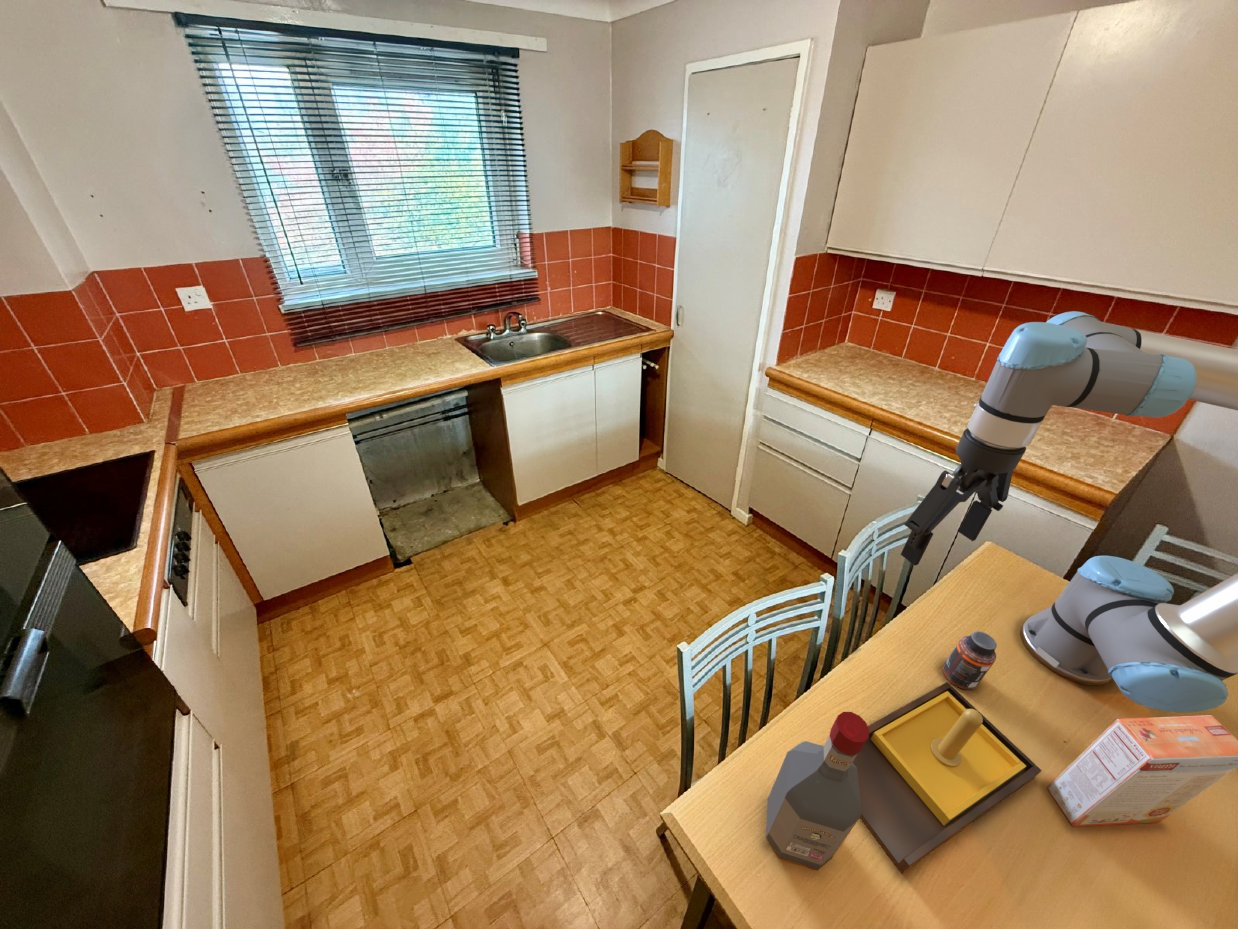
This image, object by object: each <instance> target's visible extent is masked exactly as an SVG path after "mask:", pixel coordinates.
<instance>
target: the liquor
mask: <svg viewBox="0 0 1238 929" xmlns="http://www.w3.org/2000/svg"><path fill="white" fill-rule="evenodd" d="M868 726H869V725H868V723H867V722H866V721H865V719H863V718H862V716H860V715H859V714H857V713H855V712H853V711H842V712H841V713H839V714H837V716H836V718H835V720H834V722H833V724H832V726H831V728H830V731H829V735H828V737H827V739H826V741H825V743H824V745H821V744H818V743H814V742H810V741H806V740H804V741H802V742H800V743H798V744H797V745H796V746H794V747H793V748H791V749H790V750H788V751H787V752H786V755H785V756H784V759H783V762H782V763H781V766H780V769H779V771H778V773H777V776H776V778H775V781H774V783H773V784H772V787H771V790H770V792H769V795H768V797H767V801H766V802H767V803H766V804H767V805H766V831H765V832H766V833H765V838H766V840H767V841H768V843H769V845H770V846H771V848H772V849H773V851H774V852H775V853H776V855H777V857H778V858H779V859H782V860H785V861H789V862H792V863H795V864H798V865H801V866H804V867H807V868H810V869H813V870H817V871H819V870H820V869H821V868H823V867H824V866H825V865H826V864H827V863H828V862H830V861H831V860H832V859H833V858H834V856H835V855H836V853H837V852H838V850H839V848H840V847H841V846H842V845H843V843H844V842H845V840H846V838H847V837H848V835H850V833H851V832H852V829H854V827H855V825H856V824H857V823H858V821H859V819H861V818H860V817H861V815H862V810H861V800H860V790H859V781H858V771H857V767H856V766H855V765H854V764H853V761H854V759H855V757H856V755H857V754H858V753H859V752H860V751H861V750H862V748H863V746H864V745H865V743H866V741H867V739H868V736H869V728H868Z"/></svg>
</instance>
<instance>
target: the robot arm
mask: <svg viewBox="0 0 1238 929" xmlns="http://www.w3.org/2000/svg"><path fill="white" fill-rule="evenodd" d="M1188 400H1189V401H1193V402H1197V403H1203V404H1206V405H1211V406H1216V407H1220V408H1225V409H1228V410H1229V409H1230V410H1234V411H1238V349H1235V348H1230V347H1227V346H1221V345H1216V344H1210V343H1205V342H1201V341H1197V340H1192V339H1187V338H1182V337H1177V336H1172V335H1166V334H1162V333H1157V332H1153V331H1147V330H1142V329H1137V328H1132V327H1127V326H1123V325H1118V324H1113V323H1108V322H1104V321H1101V320H1100V319H1099V318H1097V317H1096V316H1095V315H1092V314H1088V313H1086V312H1083V311H1075V310H1073V311H1066V312H1063V313H1059V314H1057V315H1054V316H1053V317H1051V318H1049V319H1048V320H1047V321H1046V322H1043V321H1030V322H1025V323H1022V324H1020V325H1018V326H1017V327H1016V328H1014V329H1013V331H1012V332H1011V334H1010V336H1009V337H1008V338H1007V340H1006V342H1005V344H1004V345H1003V348H1002V350H1001V351H1000V353H999V354H998V356H997V358H996V362H995V364H994V367H993V368H992V371H991V374H990V376H989V378H988V379H987V382H986V385H985V387H984V389H983V392H982V394H981V395H980V397H979V400H978V401H977V402H975V404H974V405H973V409H974V410H973V412H972V415H971V417H970V419H969V421H968V423H967V427H966V428H965V429H964V431H963V433H962V435H961V437H960V439H959V440H958V443H957V445H956V447H955V453H956V456H957V457H958V458H959V461H960V464H959V465H958V466H957V468H955V469H954V470H953V472H949V471H948V470H947V469H946V470H943V471H942V472H941V473H940V475H939V477H938V478H937V481H936V482H935V484H934V485H933V486H932V487H931V489H930V490H929V491H928V492H927V494H926V495H925V497H924V498H923V499H922V501H921V502H920V503H919V505H917V507H916V508H915V509H914V511H913V512H912V513H911V514H910V516H909V517H908V519H907V520H905V522H904V526H905V527H906V528H908V529H909V530H910V533H909V535H908V537H907V539H906V542H905V544H904V546H903V548H902V550H901V553H900V556H901V557H903V558H904V559H905V560H907V561H908V562H909V563H911V564H912V565H913V566H914V567H915V566H918V565H919V564H920V562H921V560H922V558H923V556H924V554H925V552H926V550H927V548H928V546H929V544H930V542H931V540H932V538H933V536H934V533H933V530H934V529H936V527H938V525H939V524H940V523H941V522H943V520H944V519H946V517H947V516H948V515H949V514H950V513H951V512H952V511H953V510H954V509H955V508H956V507H957V506H958V505H959V504H960V503H965V502H967V501H968V500H969V499H970V498H971V497H972V496H973V495H974V494H975V493H976V495H977V499H978V500H977V499H976V500H974V501H972V503H971V505H970V507H969V509H968V511H967V513H966V514H965V516H964V518H963V520H962V522H961V524H960V526H959V527H958V529H957V532H958V533H959V534H961V535H962V536H964V537H965V538H967V539H968V540H969V541H971V542H974V541H976V540H977V538H978V537H979V535H980V533H981V531H982V530H983V528H984V526H985V524H986V522H987V520H988V519H989V517H990V515H991V513H992V512H993V510H995V511H996V512H1000V511H1001V510H1002V509H1003V507H1004V505H1003V504H1002V503H1004V502H1005V501H1007V499H1008V497H1009V493H1010V487H1011V483H1012V478H1013V473H1014V470H1016V468H1017V466H1018V465H1019V464H1020V461H1021V460H1022V458H1023V456H1024V454H1025V452H1026V450H1027V447H1028V446H1029V445H1030V444H1031V443H1032V441H1033V439H1034V438H1035V436H1036V434H1037V432H1038V430H1040V427H1041V425H1042V424H1043V421H1044V419H1045V418H1046V416H1047V414H1048V413H1049V411H1050V409H1051V408H1052V407H1053V406H1058V407H1062V408H1063V407H1064V408H1072V409H1080V410H1087V411H1094V412H1101V413H1108V414H1114V415H1121V416H1125V417H1129V418H1131V417H1142V418H1143V417H1144V418H1155V419H1157V418H1158V419H1159V418H1165V417H1168V416H1170V415H1173V414H1175V413H1176V412H1177V411H1179V410H1180V409H1182V408H1183V407H1184V406H1185V405H1186V403H1187V402H1188ZM1000 502H1001V503H1000ZM1174 593H1175V589H1174V586H1173V585H1172V584H1171V583H1170V581H1169V580H1167V578H1165V577H1164V576H1162V575H1161V574H1159V573H1158V572H1157V571H1155V570H1153V569H1151V568H1149V567H1147V566H1145V565H1142V564H1140V563H1138V562H1135V561H1132V560H1129V559H1126V558H1122V557H1119V556H1112V555H1097V556H1093V557H1091V558H1089V559H1088V560H1086V561H1085V562H1084V563H1083V565H1081V567H1078V568H1077V571H1076V573H1075V574H1074V575H1073V576H1072V578H1071V579H1070V581H1069V583H1068V584H1067V585H1066V587H1065V588H1064V589H1063V591H1061V593H1060V594H1059V595H1058V597H1057V598H1056V600H1055V601H1054V602H1053V603H1052V605H1051V606H1048V607H1046V608H1044V609H1042V610H1040V611H1039V612H1036V613H1035V614H1033V615H1031V616H1029V617H1028V618H1027V619H1026V620H1025V621H1024V623H1023V624H1022V625H1021V627H1020V633H1019V634H1020V638H1021V642H1022V643H1023V645H1024V647H1025V648H1026V649H1027V651H1028V652H1029V654H1030V655H1031V656H1032V657H1033V658H1034V659H1036V661H1038V662H1039V663H1040V664H1041V665H1043V667H1046V668H1047V669H1048V670H1050V671H1051V672H1053V673H1054V674H1056V675H1058V676H1060V677H1062V678H1065V679H1067V680H1069V681H1072V682H1074V683H1078V684H1082V685H1087V686H1101V685H1105V684H1107V683H1109V682H1110V681H1111V680H1113V681H1114V682H1115V684H1116V686H1117V687H1118V689H1119V691H1120V692H1121V693H1122V695H1124V696H1125V697H1126V699H1129V700H1130V701H1131V702H1133V703H1134V704H1136V705H1139V706H1142V707H1144V708H1147V709H1151V710H1154V711H1158V712H1159V711H1160V712H1165V713H1175V714H1176V713H1177V714H1180V713H1182V714H1188V713H1190V714H1191V713H1199V712H1205V711H1209V710H1212V709H1215V708H1217V707H1220V706H1222V705H1223V704H1224V703H1225V702H1227V700H1228V697H1229V690H1228V687H1227V684H1226V683H1225V682H1224V681H1225V680H1228V679H1229V678H1231V677H1233V676H1236V675H1238V572H1236V573H1235V574H1233V575H1232V576H1229V577H1228V578H1226V579H1224V580H1223V581H1221V582H1219V583H1217V584H1216V585H1214V586H1212V587H1210V588H1209V589H1207V590H1204V591H1202V592H1201V593H1200V594H1198V595H1195V597H1193V598H1191V599H1189V600H1187V601H1186V602H1184V603H1182V604H1172V603H1168V602H1170V601H1171V600H1173V595H1174Z"/></svg>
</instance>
